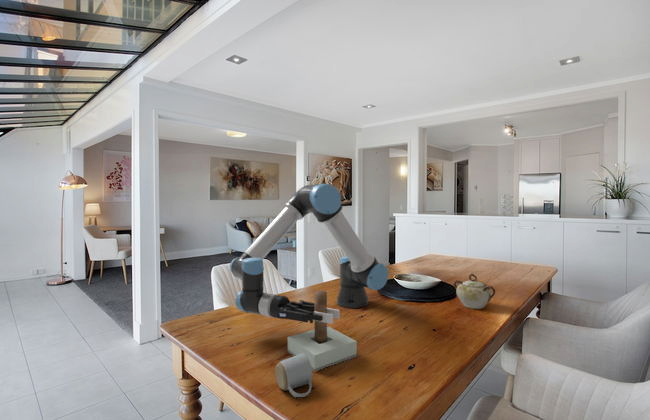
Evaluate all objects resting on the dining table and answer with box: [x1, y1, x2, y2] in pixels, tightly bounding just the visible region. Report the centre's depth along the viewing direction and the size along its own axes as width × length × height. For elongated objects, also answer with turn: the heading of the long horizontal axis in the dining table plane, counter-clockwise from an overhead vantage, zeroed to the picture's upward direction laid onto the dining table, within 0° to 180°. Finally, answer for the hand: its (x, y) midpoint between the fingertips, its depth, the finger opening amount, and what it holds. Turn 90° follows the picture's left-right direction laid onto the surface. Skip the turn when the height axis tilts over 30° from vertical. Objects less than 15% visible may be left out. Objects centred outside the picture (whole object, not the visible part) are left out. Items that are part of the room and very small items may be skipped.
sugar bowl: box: [453, 273, 496, 310], centre depth 153 cm, size 20×15×15 cm
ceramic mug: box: [274, 353, 313, 398], centre depth 87 cm, size 11×8×8 cm
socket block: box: [287, 325, 358, 372], centre depth 107 cm, size 16×16×5 cm
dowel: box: [313, 290, 328, 344], centre depth 106 cm, size 4×4×16 cm
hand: (335, 316), depth 104 cm, fingers closed on dowel, 4 cm apart
